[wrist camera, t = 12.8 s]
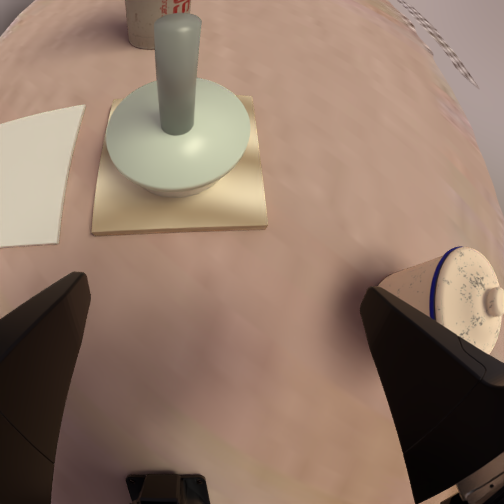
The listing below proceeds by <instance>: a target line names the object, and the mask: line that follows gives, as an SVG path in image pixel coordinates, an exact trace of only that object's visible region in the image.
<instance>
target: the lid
mask: <svg viewBox="0 0 504 504" xmlns="http://www.w3.org/2000/svg"><path fill="white" fill-rule="evenodd" d="M201 23H202V21H201V19H200V18H199V17H198V16H196V15H193V14H189V13H173V14H168V15H165V16H163V17H161V18H159V19H157V20H156V21H155V23H154V42H155V62H156V77H157V81H154V82H151V83H148V84H146V85H144V86H142V87H140V88H138V89H137V90H135V91H133V92H132V93H131V94H129V95H128V96H127V97H126V98H125V99H124V100H123V101H122V102H121V103H120V104H119V105H118V106H117V108H116V109H115V110H114V112H113V114H112V115H111V117H110V120H109V122H108V125H107V130H106V144H107V149H108V152H109V155H110V157H111V160H112V162H113V163H114V165H115V167H116V168H117V169H118V171H119V172H120V173H121V174H122V175H123V176H124V177H125V178H127V179H128V180H130V181H131V182H133V183H134V184H136V185H139V186H141V187H143V188H146V189H150V190H154V191H159V192H185V191H190V190H195V189H198V188H202V187H205V186H207V185H209V184H212V183H214V182H216V181H217V180H219V179H221V178H222V177H224V176H225V175H226V174H228V173H229V172H230V171H231V170H232V169H233V168H234V167H235V166H236V165H237V164H238V162H239V161H240V160H241V158H242V156H243V154H244V152H245V150H246V147H247V144H248V141H249V137H250V119H249V116H248V113H247V111H246V109H245V107H244V105H243V104H242V102H241V101H240V100H239V99H238V98H237V97H236V96H235V95H234V94H233V93H232V92H231V91H229V90H228V89H226V88H225V87H223V86H221V85H219V84H217V83H215V82H212V81H209V80H206V79H202V78H197V66H198V54H199V43H200V33H201Z"/></svg>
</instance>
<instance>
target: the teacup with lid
mask: <svg viewBox="0 0 504 504" xmlns="http://www.w3.org/2000/svg"><path fill="white" fill-rule="evenodd" d="M378 287H382V288H383V289H385V290H387V291H388V292H390V293H392V294H393V295H395V296H397V297H398V298H400V299H401V300H403V301H405V302H406V303H408V304H409V305H411V306H413V307H414V308H416V309H418V310H419V311H421V312H422V313H424V314H425V315H427V316H429V317H430V318H432V319H433V320H435V321H437V322H438V323H440V324H441V325H443V326H444V327H446V328H447V329H449V330H451V331H452V332H454V333H455V334H457V336H460V337H461V338H463V339H464V340H466V341H468V342H469V343H471V344H472V345H474V346H475V347H477V348H479V349H480V350H482V351H484V352H485V353H487V354H490V352H491V351H492V349H493V347H494V345H495V343H496V341H497V338H498V335H499V331H500V326H501V320H502V315H503V313H504V290H503V289H502V288H501V287H499V283H498V280H497V277H496V274H495V272H494V270H493V268H492V266H491V265H490V263H489V262H488V260H487V259H486V258H485V257H484V256H483V255H482V254H481V253H480V252H478V251H477V250H475V249H473V248H469V247H455V248H453V249H451V250H449V251H448V252H446V253H445V254H444V255H443V256H441V257H438V258H435V259H432V260H430V261H427V262H424V263H422V264H419V265H416V266H413V267H410V268H407V269H405V270H402V271H399V272H396V273H393V274H391V275H389V276H388V277H386V278H385V279H384V280H383V281H382V282H381V283H380V284H379V285H378Z"/></svg>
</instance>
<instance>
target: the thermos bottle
mask: <svg viewBox="0 0 504 504" xmlns="http://www.w3.org/2000/svg"><path fill="white" fill-rule="evenodd" d="M125 5H126V17H127V27H128V37H129V41H130V43H131V44H132V45H133V46H135V47H138V48H142V49H155V42H154V23H155V21H156V20H157V19H159V18H161V17H163V16H165V15H168V14H173V13H189V14H190V5H191V0H125Z"/></svg>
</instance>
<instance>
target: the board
mask: <svg viewBox="0 0 504 504" xmlns="http://www.w3.org/2000/svg"><path fill="white" fill-rule="evenodd" d="M235 96H236V97H237V98H238V99H239V100H240V101H241V102H242V104H243V105H244V107H245V109H246V111H247V113H248V116H249V119H250V137H249V141H248V144H247V147H246V150H245V152H244V154H243V156H242V158H241V160H240V161H239V162H238V164H237V165H236V166H235V167H234V168H233V169H232V170H231V171H230V172H229V173H228V174H226V175H225V176H224V177H222V178H221V179H220V180H219V181H218V182H217V183H216V184H214V185H213V186H212V187H210V188H209V189H207V190H205V191H203V192H201V193H199V194H196V195H193V196H188V197H182V198H168V197H162V196H158V195H155V194H153V193H150V192H149V191H147V190H145V189H144V188H142V187H141V186H139V185H136V184H134V183H133V182H131V181H130V180H128V179H127V178H125V177H124V176H123V175H122V174H121V173H120V172H119V171H118V169H117V168H116V167H115V165H114V163H113V162H112V160H111V157H110V155H109V152H108V149H107V144H106V133H105V138H104V143H103V148H102V154H101V159H100V165H99V171H98V178H97V185H96V192H95V200H94V209H93V220H92V231H91V232H92V233H93V234H94V235H95V236H107V235H126V234H147V233H170V232H195V231H225V230H262V229H266V228H267V226H268V220H267V211H266V203H265V194H264V186H263V177H262V169H261V161H260V153H259V145H258V137H257V130H256V122H255V114H254V107H253V99H252V96H240V95H235ZM124 99H125V98H124ZM124 99H115V100H113V104H112V107H111V111H110V116H109V120H110V117H111V115H112V114H113V112H114V110H115V109H116V108H117V106H118V105H119V104H120V103H121V102H122V101H123V100H124ZM109 120H108V122H109ZM107 125H108V124H107ZM106 130H107V129H106Z"/></svg>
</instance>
